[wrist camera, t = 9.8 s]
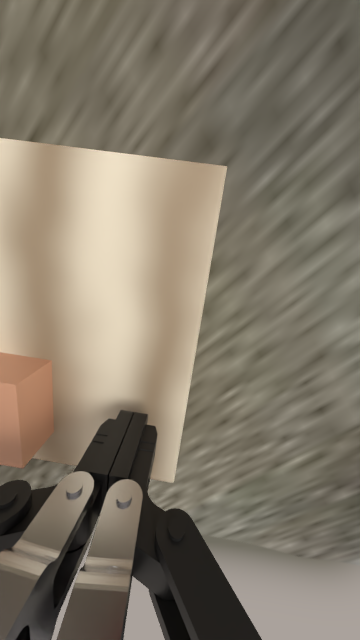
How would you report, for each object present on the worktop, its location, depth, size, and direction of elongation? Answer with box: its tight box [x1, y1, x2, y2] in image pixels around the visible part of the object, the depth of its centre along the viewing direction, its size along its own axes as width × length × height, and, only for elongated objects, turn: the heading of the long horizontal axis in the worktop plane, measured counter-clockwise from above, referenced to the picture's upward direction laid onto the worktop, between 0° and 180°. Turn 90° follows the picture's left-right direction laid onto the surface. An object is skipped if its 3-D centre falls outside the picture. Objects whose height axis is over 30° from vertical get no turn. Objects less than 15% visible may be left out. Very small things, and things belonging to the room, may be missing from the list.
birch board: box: [0, 138, 227, 483], centre depth 13 cm, size 16×18×3 cm
